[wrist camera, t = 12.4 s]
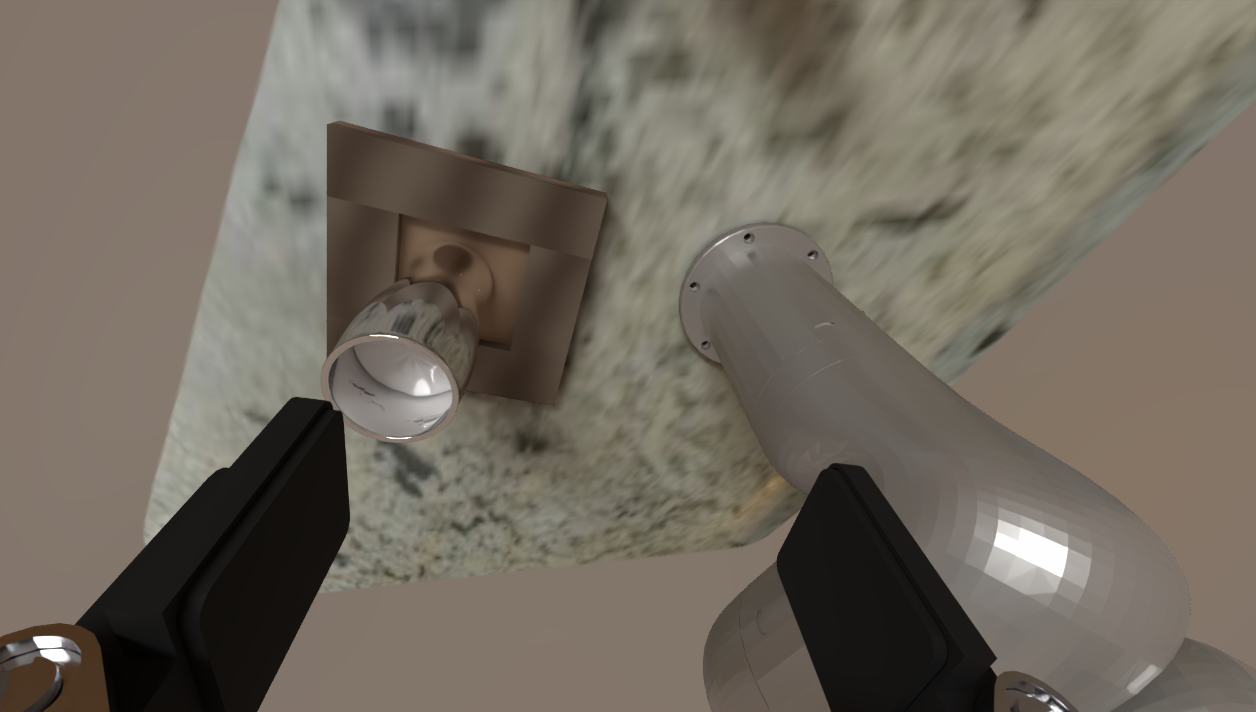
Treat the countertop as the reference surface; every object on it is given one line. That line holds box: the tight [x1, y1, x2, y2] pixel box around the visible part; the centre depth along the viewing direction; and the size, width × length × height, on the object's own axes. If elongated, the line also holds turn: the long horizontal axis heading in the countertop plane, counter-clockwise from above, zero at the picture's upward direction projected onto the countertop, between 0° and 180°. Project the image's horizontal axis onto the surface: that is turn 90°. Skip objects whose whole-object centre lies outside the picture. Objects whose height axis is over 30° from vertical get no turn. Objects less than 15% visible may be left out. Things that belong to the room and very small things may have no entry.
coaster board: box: [327, 121, 607, 406], centre depth 39 cm, size 18×18×2 cm
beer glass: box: [321, 241, 493, 443], centre depth 32 cm, size 7×7×15 cm
